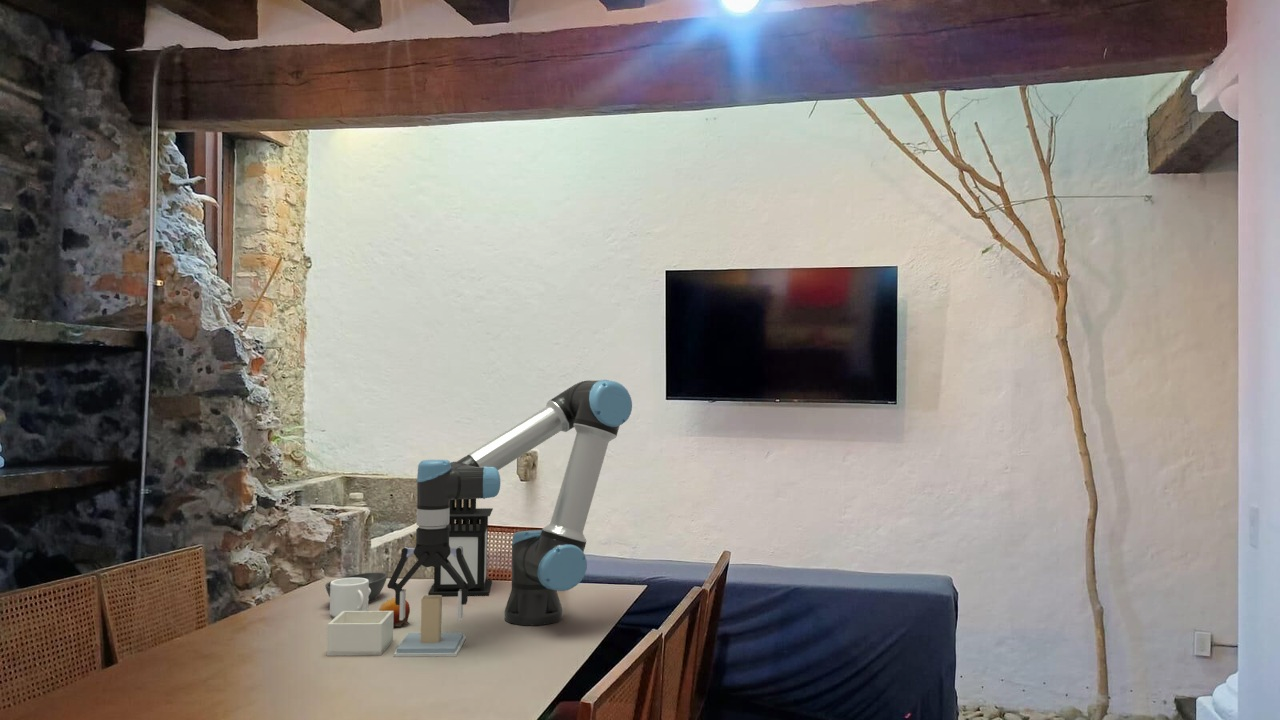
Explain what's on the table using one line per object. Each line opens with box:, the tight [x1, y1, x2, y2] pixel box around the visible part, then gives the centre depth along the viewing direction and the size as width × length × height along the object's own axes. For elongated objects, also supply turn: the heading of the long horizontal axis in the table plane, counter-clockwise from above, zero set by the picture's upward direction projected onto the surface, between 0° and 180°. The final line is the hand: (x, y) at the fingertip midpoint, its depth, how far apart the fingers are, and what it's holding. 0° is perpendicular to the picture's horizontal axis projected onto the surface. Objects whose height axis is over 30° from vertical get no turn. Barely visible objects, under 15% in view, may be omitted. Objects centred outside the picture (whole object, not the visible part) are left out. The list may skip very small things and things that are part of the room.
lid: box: [395, 594, 464, 653], centre depth 205 cm, size 13×13×11 cm
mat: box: [393, 635, 467, 658], centre depth 204 cm, size 14×14×1 cm
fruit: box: [378, 597, 411, 628], centre depth 224 cm, size 8×8×8 cm
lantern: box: [427, 499, 494, 598], centre depth 265 cm, size 17×17×35 cm
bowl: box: [325, 571, 388, 604], centre depth 248 cm, size 12×22×6 cm, turn 161°
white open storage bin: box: [326, 610, 394, 657], centre depth 204 cm, size 12×12×7 cm
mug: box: [329, 577, 371, 618], centre depth 232 cm, size 12×10×9 cm
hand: (431, 618), depth 205 cm, fingers open, 13 cm apart
